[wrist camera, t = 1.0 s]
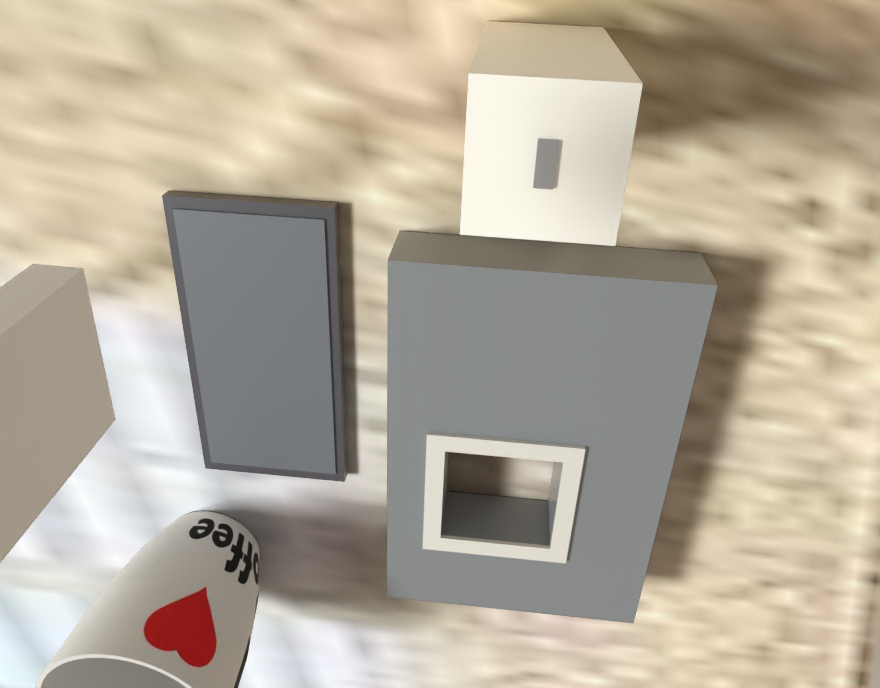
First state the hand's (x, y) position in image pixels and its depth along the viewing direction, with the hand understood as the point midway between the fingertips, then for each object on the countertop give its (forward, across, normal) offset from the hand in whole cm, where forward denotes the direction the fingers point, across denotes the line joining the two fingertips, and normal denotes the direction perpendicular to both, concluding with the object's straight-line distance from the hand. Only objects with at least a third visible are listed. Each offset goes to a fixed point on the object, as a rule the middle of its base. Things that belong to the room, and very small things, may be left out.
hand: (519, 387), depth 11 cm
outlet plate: (+19, +2, -14) cm, 24 cm away
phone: (+19, -10, -11) cm, 25 cm away
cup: (+19, -14, -24) cm, 34 cm away
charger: (+19, 0, +1) cm, 19 cm away
